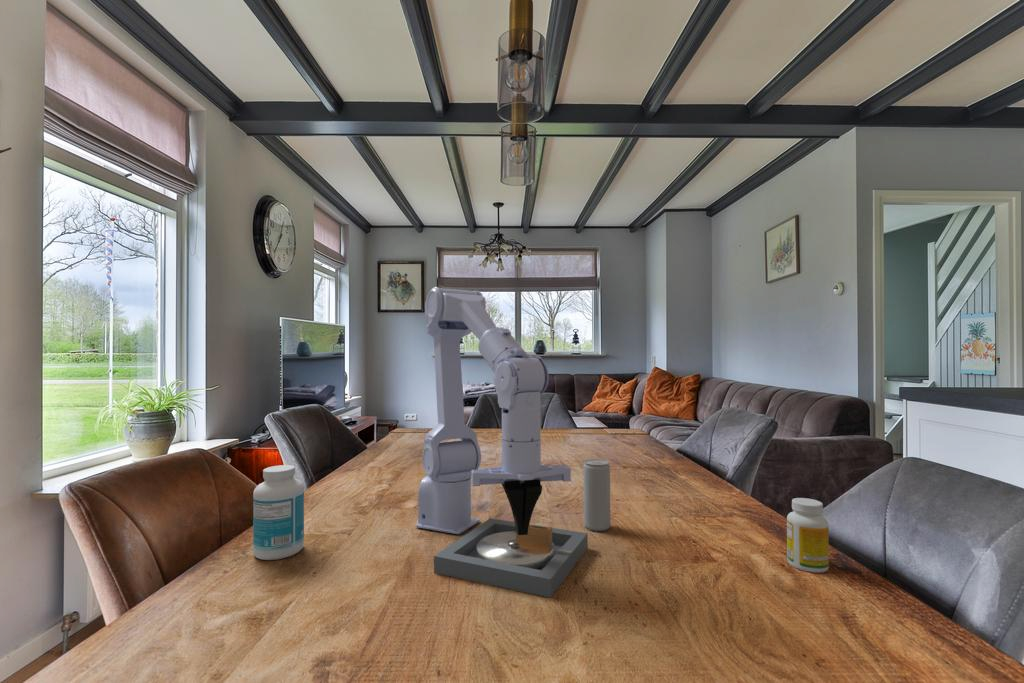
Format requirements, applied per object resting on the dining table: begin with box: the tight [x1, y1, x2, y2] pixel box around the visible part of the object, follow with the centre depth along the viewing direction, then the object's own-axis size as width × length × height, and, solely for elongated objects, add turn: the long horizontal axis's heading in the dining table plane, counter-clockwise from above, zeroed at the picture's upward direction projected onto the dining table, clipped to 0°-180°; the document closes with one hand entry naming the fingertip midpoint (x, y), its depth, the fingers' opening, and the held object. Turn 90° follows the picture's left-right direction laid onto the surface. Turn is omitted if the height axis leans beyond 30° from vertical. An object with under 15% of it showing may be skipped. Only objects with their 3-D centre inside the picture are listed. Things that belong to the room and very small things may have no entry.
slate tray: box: [433, 517, 589, 599], centre depth 75 cm, size 18×18×3 cm
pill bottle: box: [252, 464, 305, 561], centre depth 78 cm, size 8×7×14 cm
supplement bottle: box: [786, 497, 830, 574], centre depth 73 cm, size 5×5×10 cm
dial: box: [477, 522, 554, 569], centre depth 75 cm, size 12×12×5 cm
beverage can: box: [582, 458, 611, 532], centre depth 89 cm, size 5×5×12 cm
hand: (521, 532), depth 71 cm, fingers closed
